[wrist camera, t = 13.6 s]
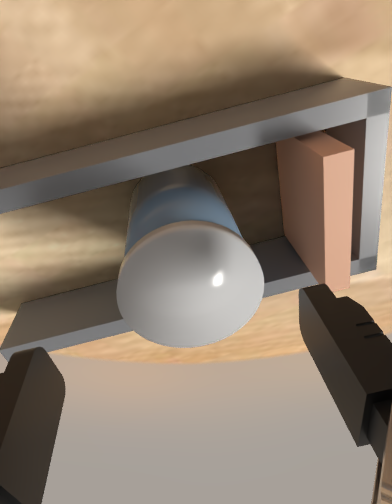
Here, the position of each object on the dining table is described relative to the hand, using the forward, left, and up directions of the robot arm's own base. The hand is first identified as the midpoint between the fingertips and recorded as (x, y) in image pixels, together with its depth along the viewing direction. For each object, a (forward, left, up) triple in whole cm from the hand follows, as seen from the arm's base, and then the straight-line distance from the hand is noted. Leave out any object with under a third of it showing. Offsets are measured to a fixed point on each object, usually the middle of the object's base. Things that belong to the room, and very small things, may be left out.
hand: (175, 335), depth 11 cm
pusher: (+1, +7, -11) cm, 13 cm away
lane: (+1, -1, -11) cm, 11 cm away
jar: (+1, +1, -11) cm, 11 cm away
